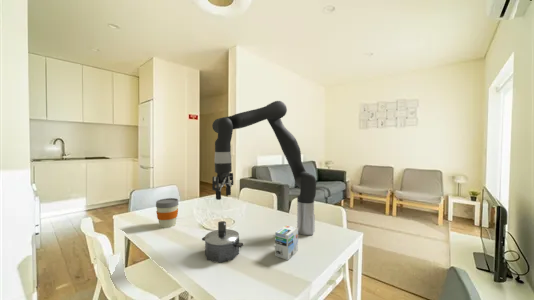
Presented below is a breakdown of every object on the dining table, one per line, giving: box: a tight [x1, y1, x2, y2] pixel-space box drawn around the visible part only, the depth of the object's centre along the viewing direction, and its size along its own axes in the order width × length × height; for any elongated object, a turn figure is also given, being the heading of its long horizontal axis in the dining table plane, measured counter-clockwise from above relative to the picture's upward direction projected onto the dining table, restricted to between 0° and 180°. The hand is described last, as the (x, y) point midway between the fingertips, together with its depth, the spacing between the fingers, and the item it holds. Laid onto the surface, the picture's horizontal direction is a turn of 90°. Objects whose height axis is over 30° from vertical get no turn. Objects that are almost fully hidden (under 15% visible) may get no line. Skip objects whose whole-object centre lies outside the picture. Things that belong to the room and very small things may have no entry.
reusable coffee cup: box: [155, 197, 179, 229], centre depth 135 cm, size 13×13×15 cm
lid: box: [204, 220, 240, 246], centre depth 100 cm, size 15×15×8 cm
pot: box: [201, 236, 244, 264], centre depth 100 cm, size 20×14×7 cm
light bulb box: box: [274, 225, 299, 261], centre depth 101 cm, size 11×7×11 cm, turn 148°
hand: (223, 197), depth 102 cm, fingers open, 8 cm apart
